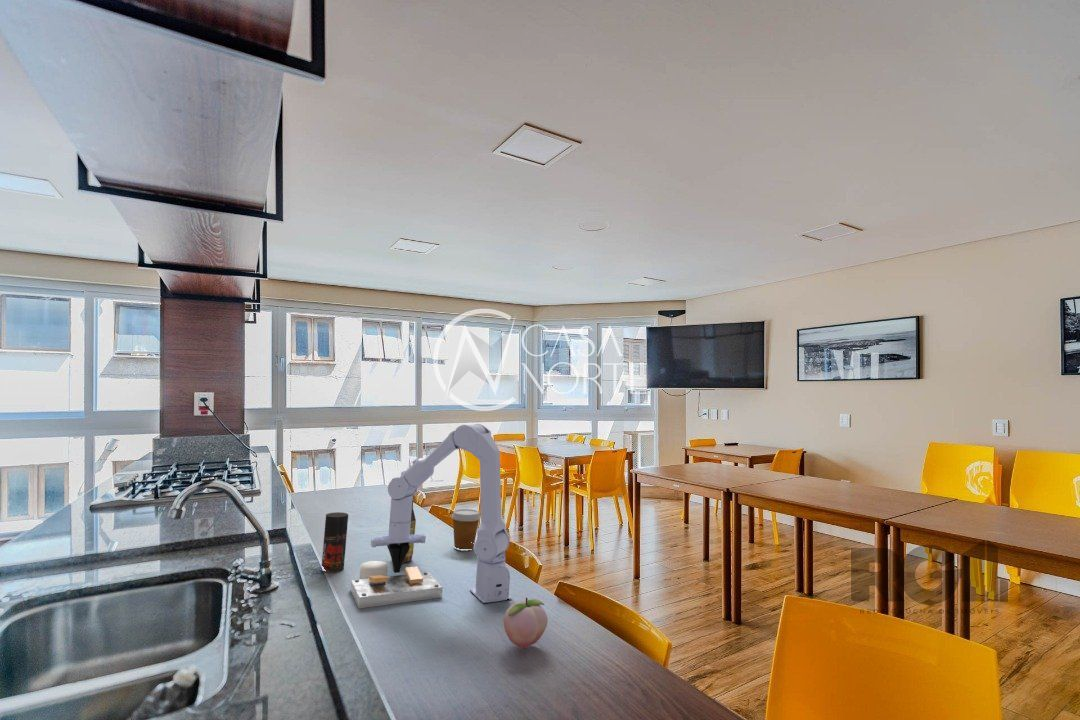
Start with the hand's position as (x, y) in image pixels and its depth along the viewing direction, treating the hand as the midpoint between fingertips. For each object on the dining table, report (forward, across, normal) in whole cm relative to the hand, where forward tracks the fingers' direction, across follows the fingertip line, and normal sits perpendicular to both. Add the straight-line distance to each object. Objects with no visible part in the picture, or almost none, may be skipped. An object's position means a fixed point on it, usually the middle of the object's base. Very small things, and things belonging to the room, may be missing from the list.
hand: (396, 571), depth 143 cm
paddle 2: (-2, -2, +11) cm, 11 cm away
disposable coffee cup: (+2, -27, -20) cm, 34 cm away
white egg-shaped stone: (+2, +6, 0) cm, 6 cm away
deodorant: (+2, +15, -12) cm, 19 cm away
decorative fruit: (+2, -14, +49) cm, 51 cm away
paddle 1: (-2, +7, +11) cm, 13 cm away
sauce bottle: (+2, -5, -14) cm, 15 cm away
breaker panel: (+2, +3, +12) cm, 12 cm away
